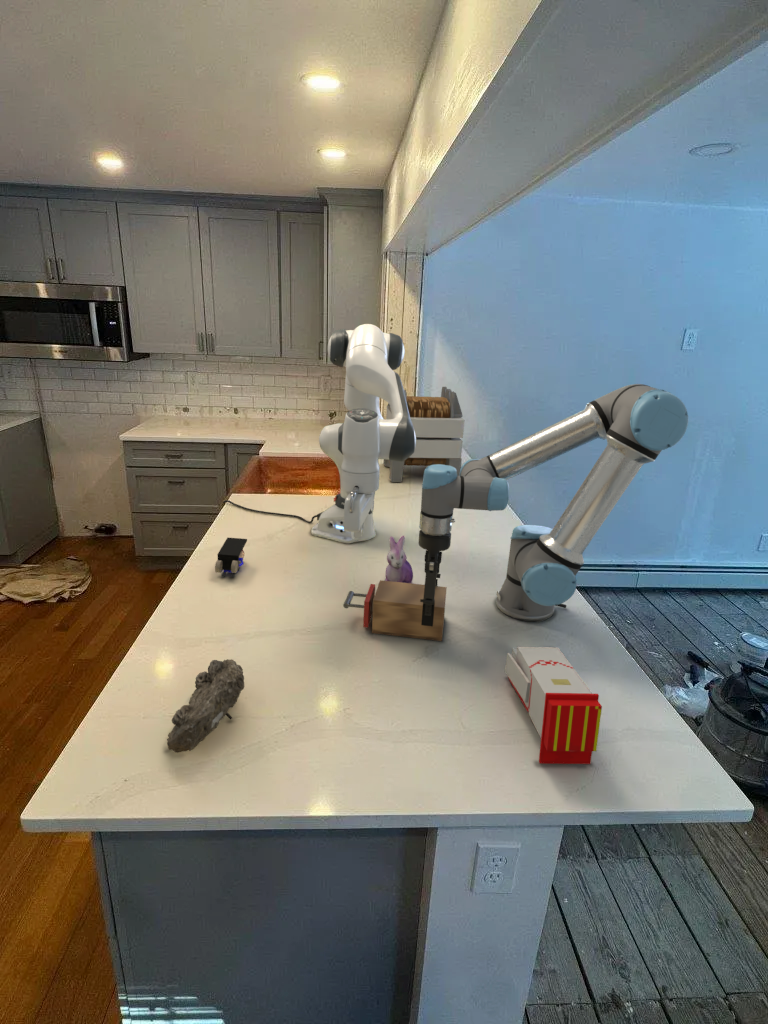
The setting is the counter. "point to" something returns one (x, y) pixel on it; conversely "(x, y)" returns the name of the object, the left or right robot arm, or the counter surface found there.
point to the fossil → (206, 705)
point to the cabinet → (406, 611)
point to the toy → (556, 704)
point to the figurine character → (230, 556)
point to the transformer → (432, 432)
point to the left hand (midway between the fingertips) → (358, 535)
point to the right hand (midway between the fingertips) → (428, 613)
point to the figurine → (398, 563)
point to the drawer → (367, 603)
